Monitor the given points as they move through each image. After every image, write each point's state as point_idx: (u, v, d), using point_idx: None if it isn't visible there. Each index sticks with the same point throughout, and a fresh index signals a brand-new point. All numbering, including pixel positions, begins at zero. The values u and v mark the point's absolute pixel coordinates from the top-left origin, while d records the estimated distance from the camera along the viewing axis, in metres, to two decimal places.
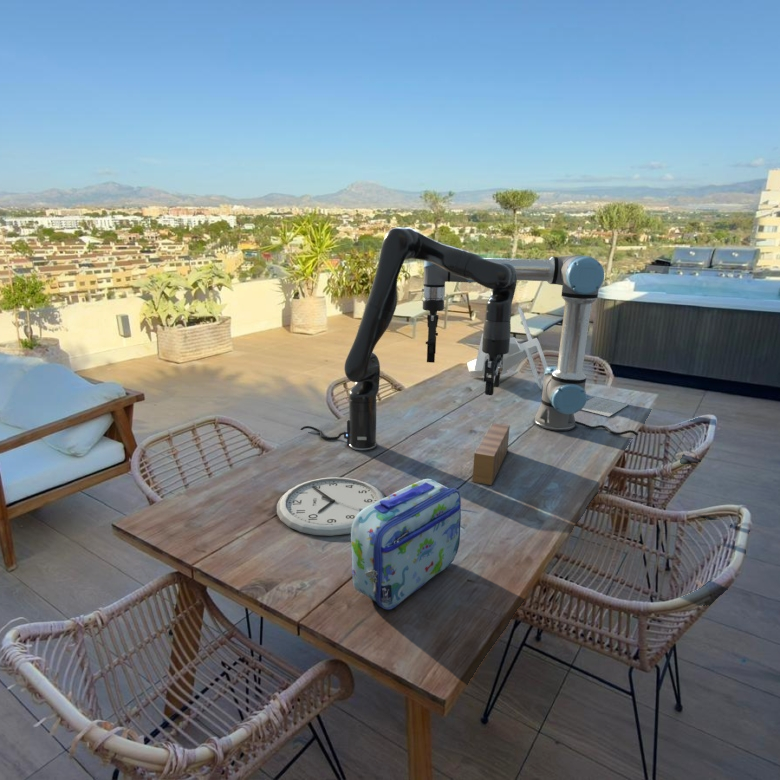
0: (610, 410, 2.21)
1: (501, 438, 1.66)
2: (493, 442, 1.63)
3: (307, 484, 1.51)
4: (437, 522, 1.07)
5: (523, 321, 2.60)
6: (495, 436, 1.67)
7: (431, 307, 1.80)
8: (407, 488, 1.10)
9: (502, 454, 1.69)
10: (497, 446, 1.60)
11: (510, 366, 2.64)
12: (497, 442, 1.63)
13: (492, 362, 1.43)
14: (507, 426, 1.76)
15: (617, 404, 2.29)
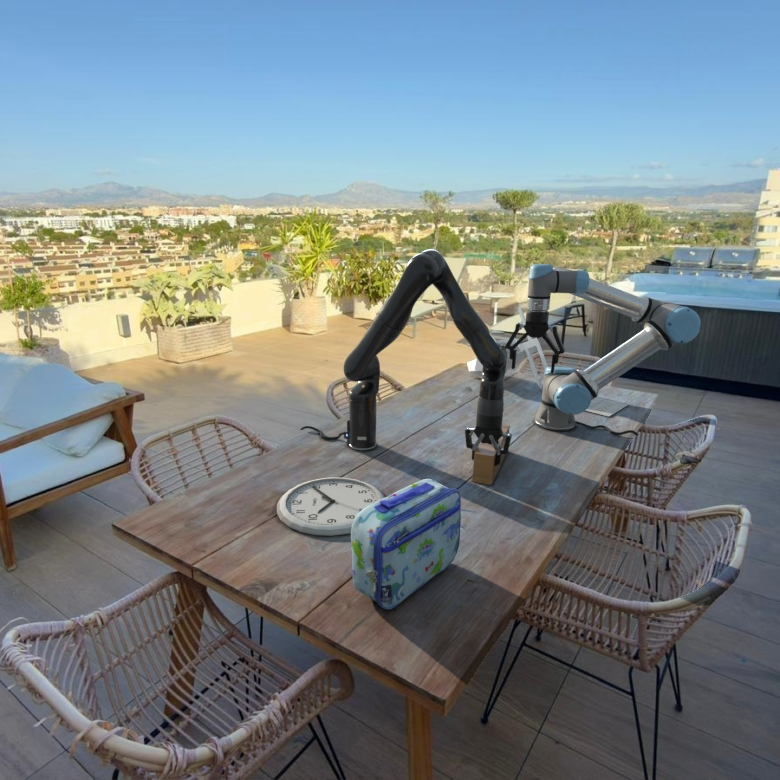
0: (610, 410, 2.21)
1: (501, 438, 1.66)
2: None
3: (307, 484, 1.51)
4: (437, 522, 1.07)
5: (523, 321, 2.60)
6: None
7: None
8: (407, 488, 1.10)
9: (502, 454, 1.69)
10: None
11: (510, 366, 2.64)
12: None
13: (511, 435, 1.54)
14: (507, 426, 1.76)
15: (617, 404, 2.29)
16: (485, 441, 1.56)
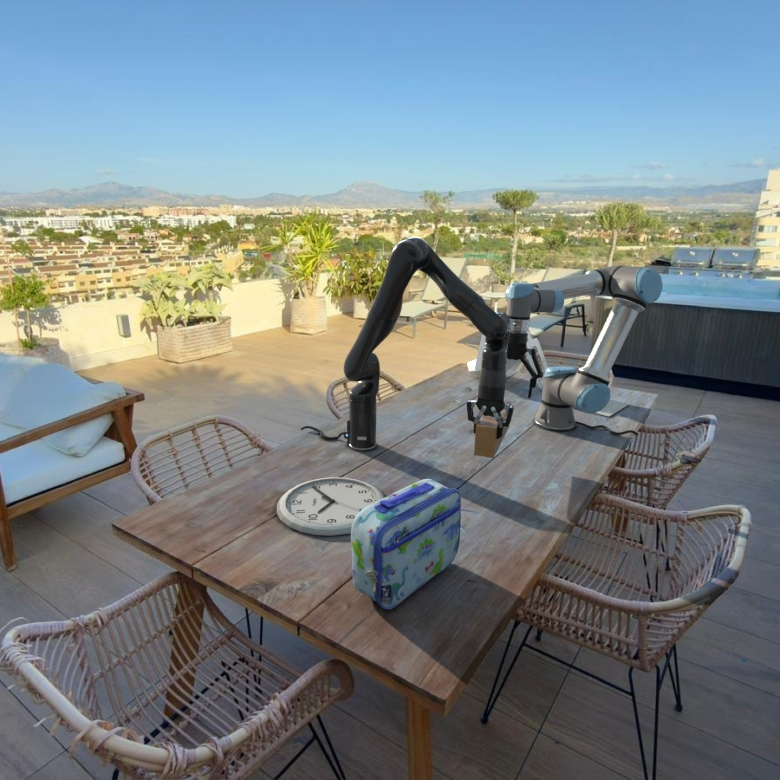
0: (610, 410, 2.21)
1: (503, 412, 1.63)
2: None
3: (307, 484, 1.51)
4: (437, 522, 1.07)
5: None
6: None
7: (526, 340, 1.68)
8: (407, 488, 1.10)
9: (504, 429, 1.67)
10: None
11: (510, 366, 2.64)
12: None
13: (513, 407, 1.51)
14: (509, 401, 1.74)
15: (617, 404, 2.29)
16: (487, 413, 1.53)
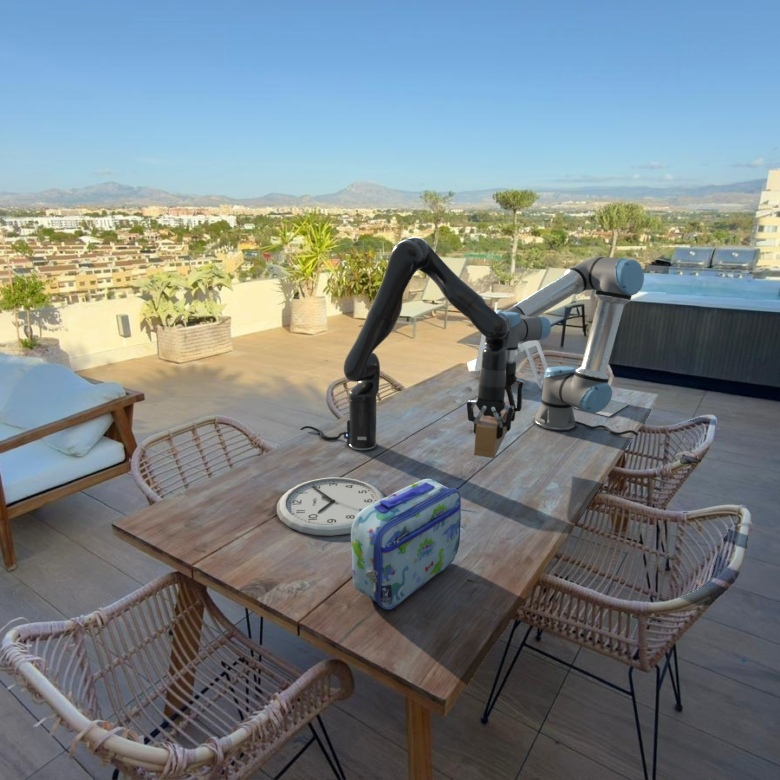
0: (610, 410, 2.21)
1: (503, 412, 1.63)
2: None
3: (307, 484, 1.51)
4: (437, 522, 1.07)
5: None
6: None
7: (515, 369, 1.67)
8: (407, 488, 1.10)
9: (504, 429, 1.67)
10: None
11: None
12: None
13: (513, 407, 1.51)
14: None
15: (617, 404, 2.29)
16: (487, 413, 1.53)
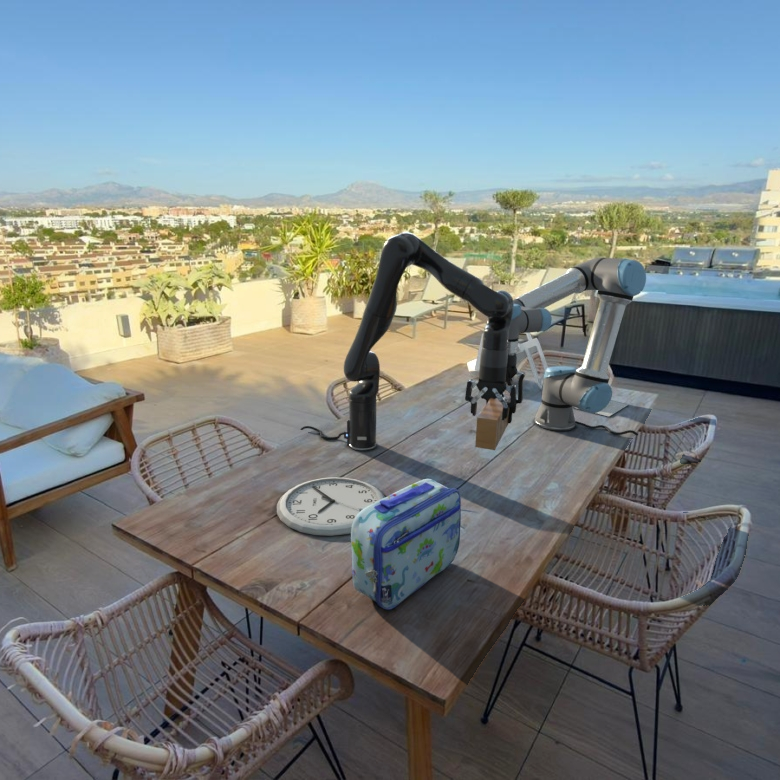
0: (610, 410, 2.21)
1: None
2: (496, 407, 1.60)
3: (307, 484, 1.51)
4: (437, 522, 1.07)
5: None
6: (498, 403, 1.64)
7: (516, 361, 1.66)
8: (407, 488, 1.10)
9: (505, 421, 1.66)
10: (500, 411, 1.56)
11: None
12: (500, 407, 1.60)
13: (515, 386, 1.47)
14: None
15: (617, 404, 2.29)
16: (488, 395, 1.49)
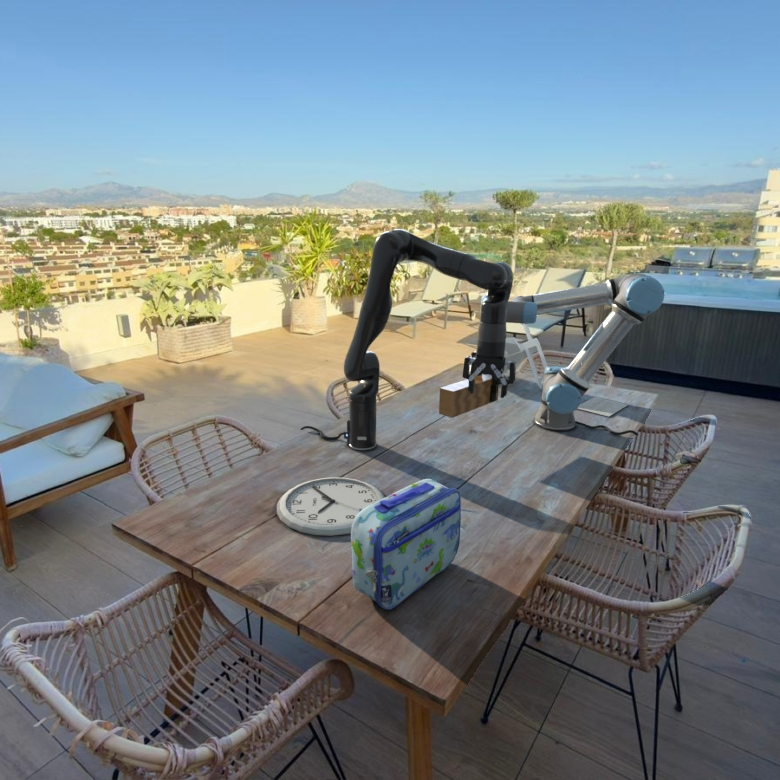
0: (610, 410, 2.21)
1: (478, 382, 1.84)
2: (467, 383, 1.83)
3: (307, 484, 1.51)
4: (437, 522, 1.07)
5: None
6: None
7: None
8: (407, 488, 1.10)
9: (481, 398, 1.87)
10: (466, 386, 1.80)
11: None
12: None
13: (515, 362, 1.42)
14: None
15: (617, 404, 2.29)
16: (486, 372, 1.43)
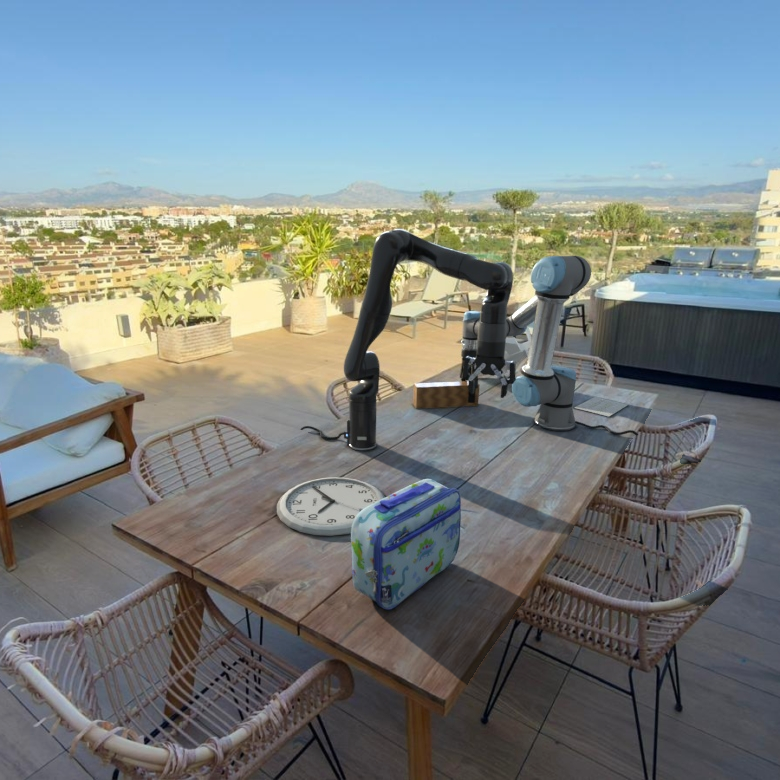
0: (610, 410, 2.21)
1: (450, 385, 2.20)
2: (440, 384, 2.21)
3: (307, 484, 1.51)
4: (437, 522, 1.07)
5: None
6: (450, 384, 2.22)
7: (472, 356, 2.17)
8: (407, 488, 1.10)
9: (454, 399, 2.22)
10: (434, 386, 2.19)
11: None
12: (442, 385, 2.20)
13: (515, 362, 1.42)
14: None
15: (617, 404, 2.29)
16: (486, 372, 1.43)
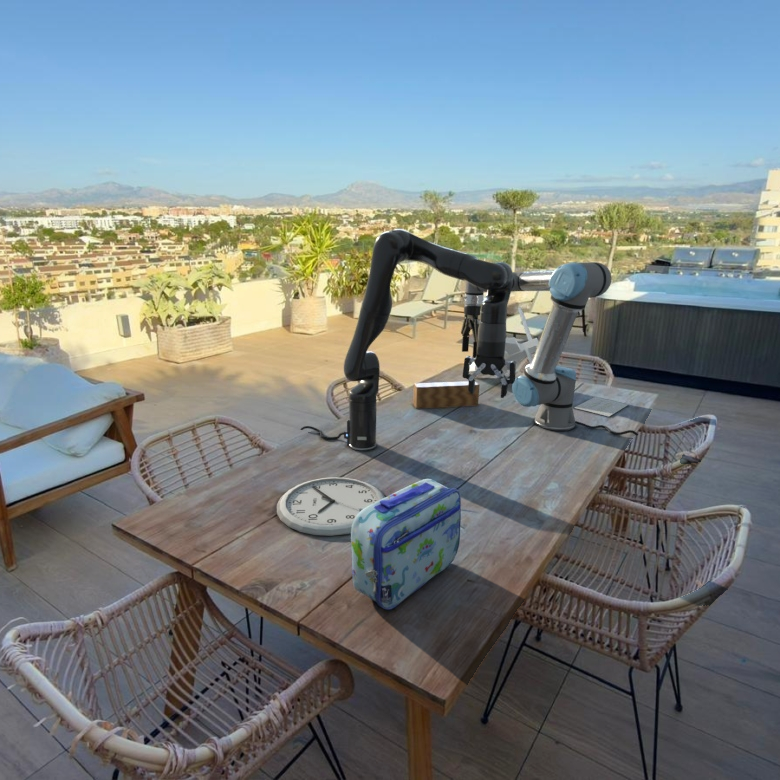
0: (610, 410, 2.21)
1: (450, 385, 2.20)
2: (440, 384, 2.21)
3: (307, 484, 1.51)
4: (437, 522, 1.07)
5: (523, 321, 2.60)
6: (450, 384, 2.22)
7: (475, 312, 2.12)
8: (407, 488, 1.10)
9: (454, 399, 2.22)
10: (434, 386, 2.19)
11: None
12: (442, 385, 2.20)
13: (515, 362, 1.42)
14: (476, 384, 2.23)
15: (617, 404, 2.29)
16: (486, 372, 1.43)
